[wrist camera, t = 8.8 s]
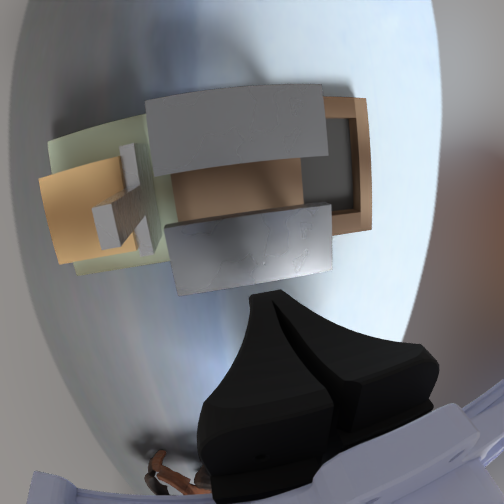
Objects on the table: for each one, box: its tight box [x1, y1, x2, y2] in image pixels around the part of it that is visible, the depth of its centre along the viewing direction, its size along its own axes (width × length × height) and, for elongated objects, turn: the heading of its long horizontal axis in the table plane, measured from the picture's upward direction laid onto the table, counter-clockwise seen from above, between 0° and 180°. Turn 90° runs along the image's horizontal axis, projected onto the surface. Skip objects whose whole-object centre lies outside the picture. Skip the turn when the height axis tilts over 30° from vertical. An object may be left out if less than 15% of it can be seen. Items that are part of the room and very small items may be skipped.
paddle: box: [92, 143, 162, 257], centre depth 14 cm, size 6×1×9 cm, turn 6°
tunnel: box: [145, 84, 332, 296], centre depth 16 cm, size 9×8×6 cm
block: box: [39, 156, 138, 265], centre depth 15 cm, size 5×5×4 cm
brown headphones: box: [145, 450, 212, 495], centre depth 28 cm, size 12×10×8 cm
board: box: [48, 96, 372, 276], centre depth 19 cm, size 10×22×2 cm, turn 96°
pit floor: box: [300, 118, 353, 211], centre depth 20 cm, size 7×4×1 cm, turn 6°
